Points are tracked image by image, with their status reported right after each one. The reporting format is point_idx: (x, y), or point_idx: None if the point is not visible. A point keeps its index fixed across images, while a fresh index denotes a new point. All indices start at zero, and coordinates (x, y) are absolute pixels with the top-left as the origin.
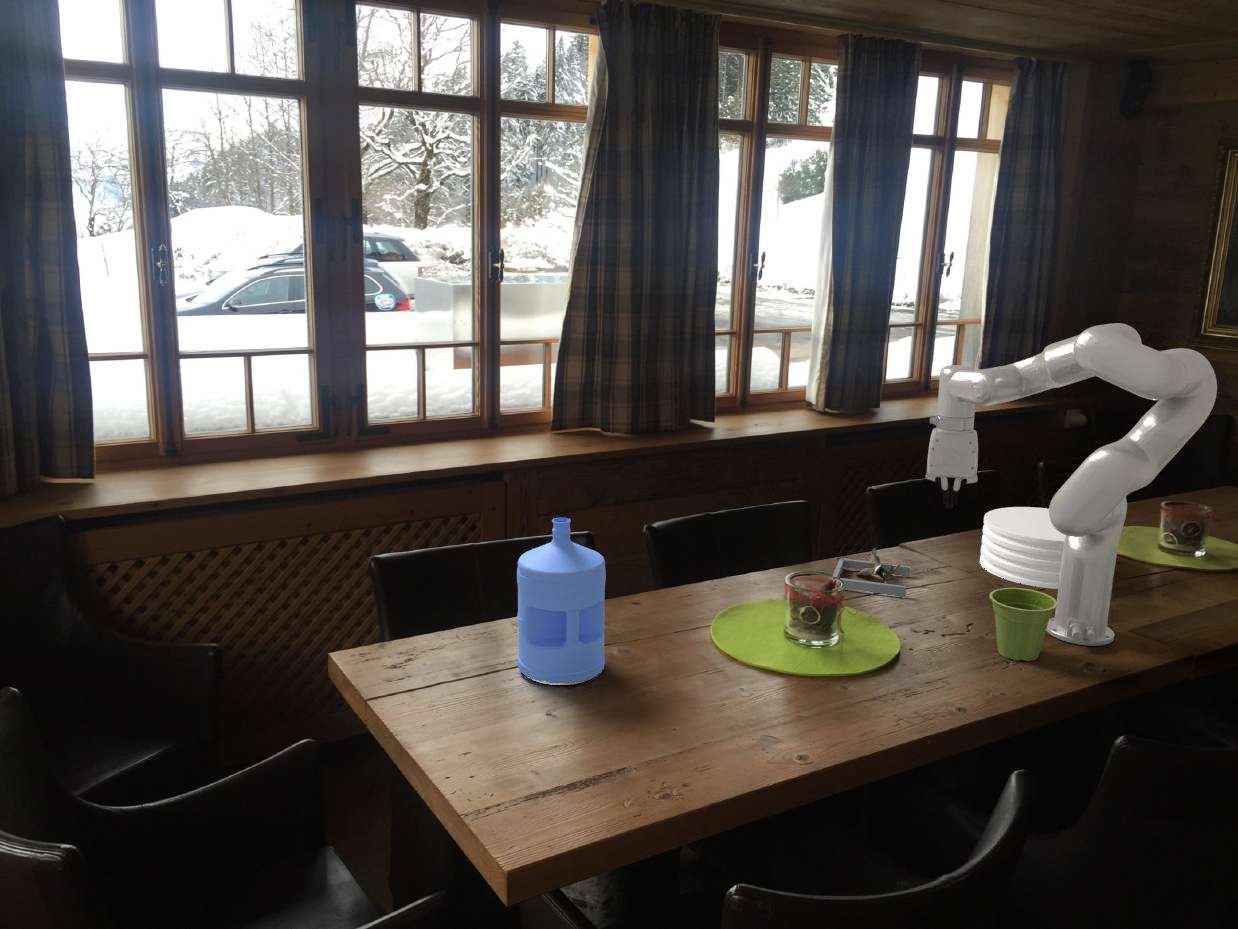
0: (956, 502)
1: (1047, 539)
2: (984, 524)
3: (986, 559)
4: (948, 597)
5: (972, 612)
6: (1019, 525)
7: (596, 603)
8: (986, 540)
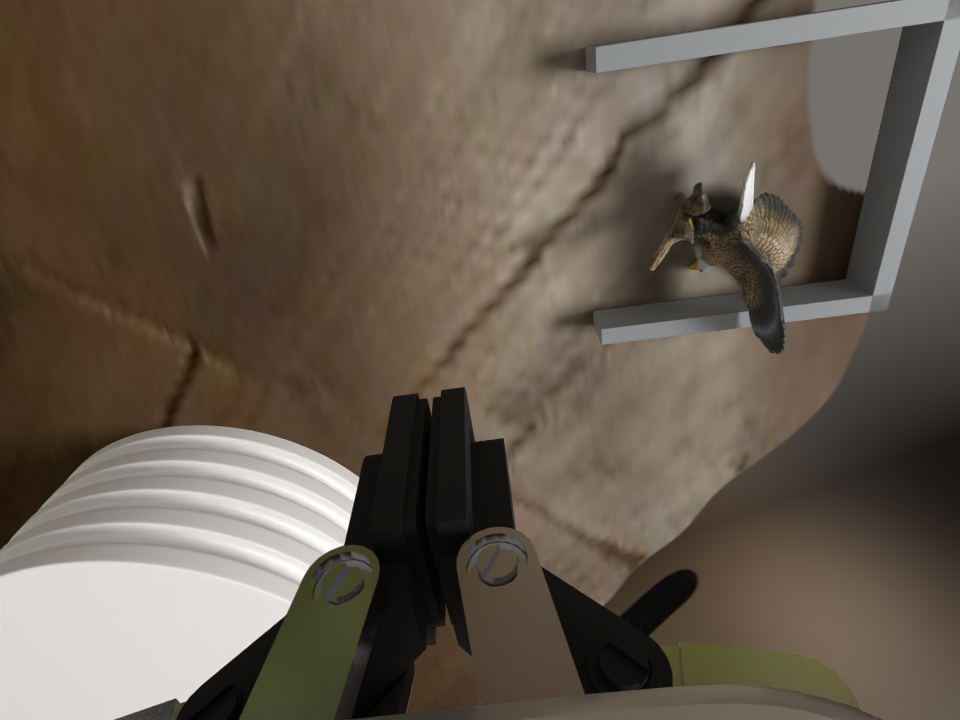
0: (366, 462)
1: (73, 564)
2: None
3: None
4: (421, 168)
5: (285, 20)
6: None
7: None
8: None
